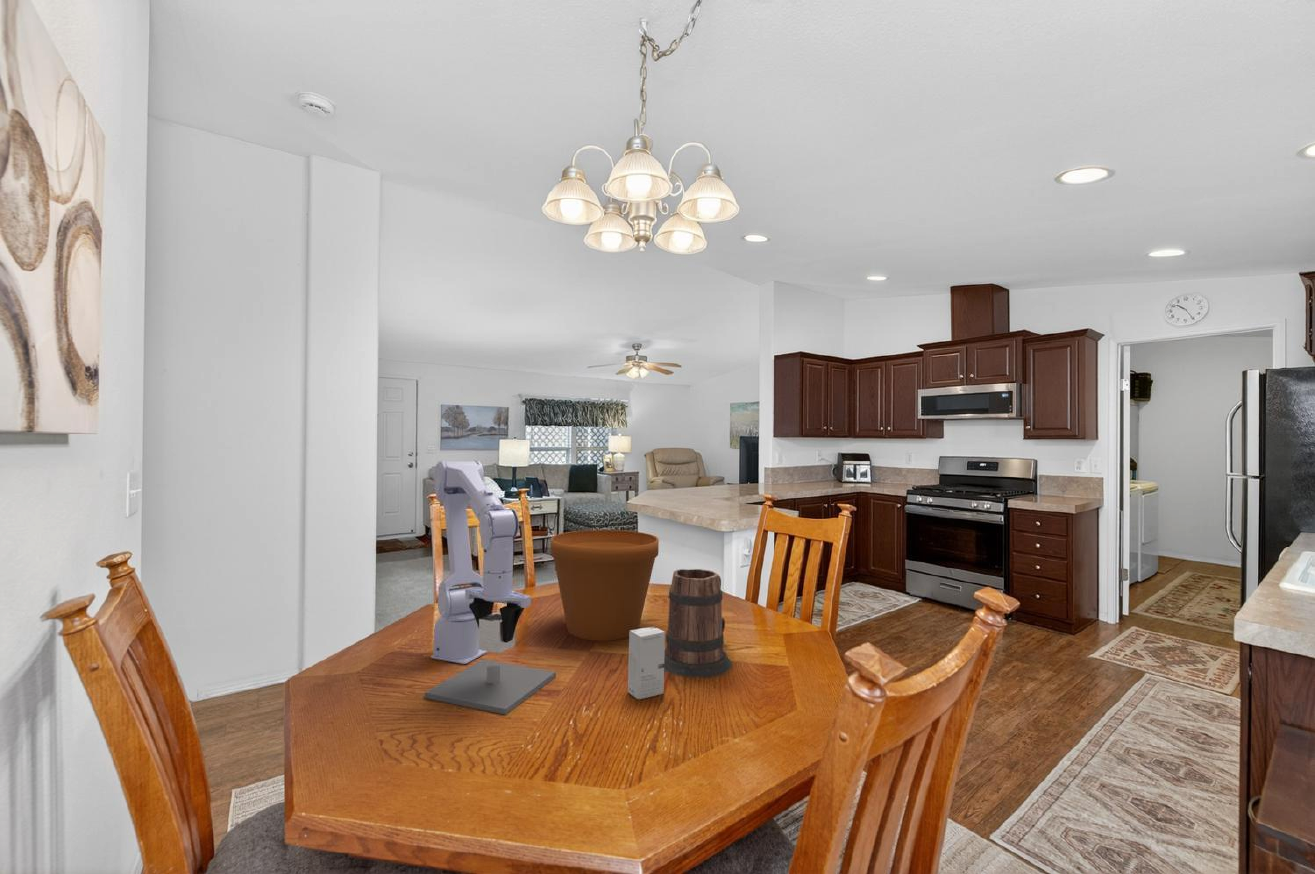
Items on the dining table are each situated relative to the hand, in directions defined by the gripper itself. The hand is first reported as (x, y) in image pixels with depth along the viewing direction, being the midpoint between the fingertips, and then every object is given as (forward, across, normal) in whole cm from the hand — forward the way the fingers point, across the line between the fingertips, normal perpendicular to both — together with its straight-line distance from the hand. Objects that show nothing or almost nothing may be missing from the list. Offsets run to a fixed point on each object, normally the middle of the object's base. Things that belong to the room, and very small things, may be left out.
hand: (496, 638), depth 117 cm
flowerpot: (+10, -3, -41) cm, 42 cm away
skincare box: (+10, -28, -10) cm, 31 cm away
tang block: (+9, 0, 0) cm, 9 cm away
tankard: (+10, -32, -32) cm, 46 cm away
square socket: (+2, 0, 0) cm, 2 cm away
